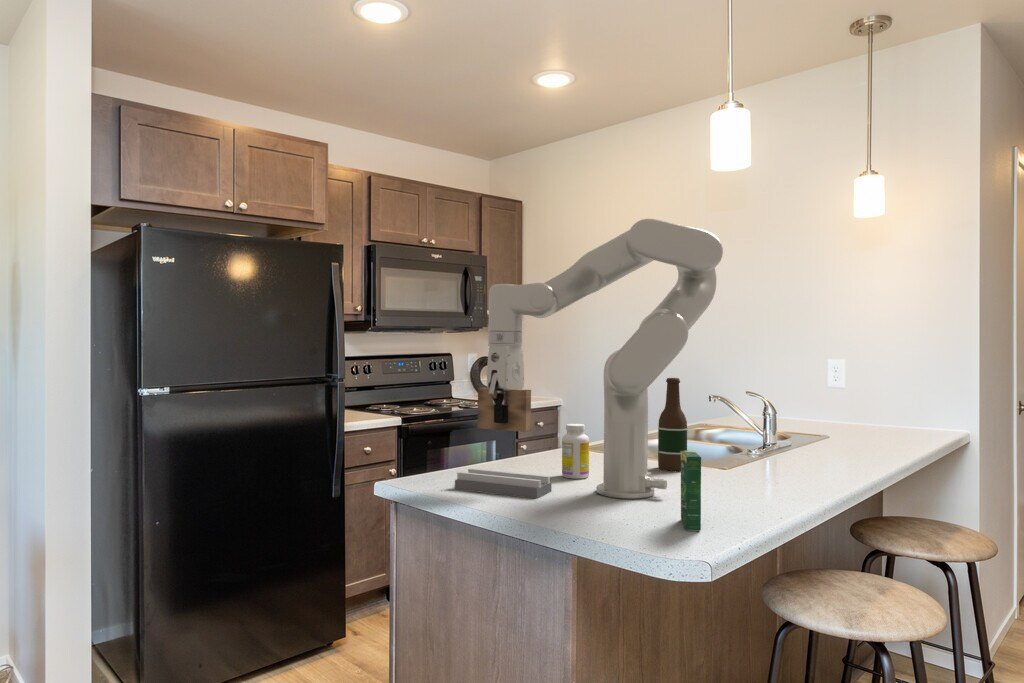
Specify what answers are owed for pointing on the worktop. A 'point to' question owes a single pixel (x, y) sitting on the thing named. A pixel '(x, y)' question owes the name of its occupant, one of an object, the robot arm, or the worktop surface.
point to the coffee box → (691, 490)
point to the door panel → (516, 410)
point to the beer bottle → (672, 430)
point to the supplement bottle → (575, 452)
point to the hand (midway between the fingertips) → (504, 421)
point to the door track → (503, 483)
